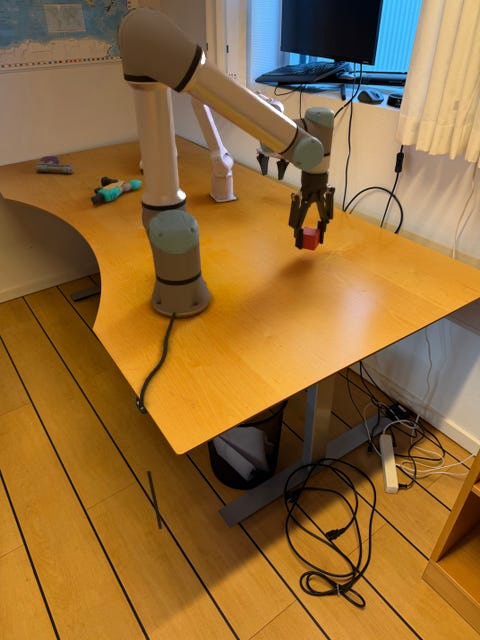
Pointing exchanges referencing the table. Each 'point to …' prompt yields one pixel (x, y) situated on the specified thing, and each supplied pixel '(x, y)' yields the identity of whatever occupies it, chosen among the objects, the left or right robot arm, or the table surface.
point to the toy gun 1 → (53, 165)
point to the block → (310, 238)
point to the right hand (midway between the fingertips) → (272, 177)
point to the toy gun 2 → (113, 189)
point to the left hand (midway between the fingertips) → (309, 244)
